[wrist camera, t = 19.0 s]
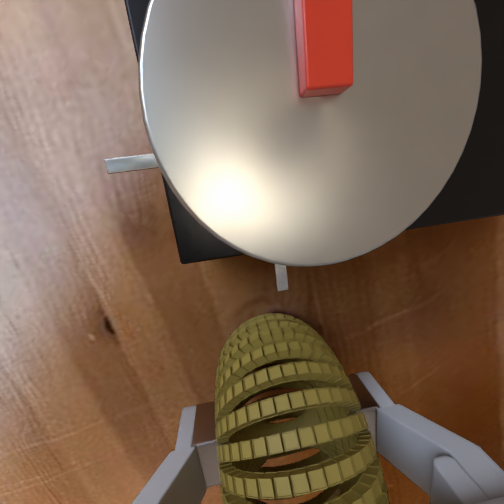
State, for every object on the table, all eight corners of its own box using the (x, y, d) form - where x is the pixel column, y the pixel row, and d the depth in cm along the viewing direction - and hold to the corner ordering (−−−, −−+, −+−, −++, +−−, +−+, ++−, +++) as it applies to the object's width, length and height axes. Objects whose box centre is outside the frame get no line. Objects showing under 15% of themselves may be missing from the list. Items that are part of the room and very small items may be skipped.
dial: (345, 215, 8) (485, 250, 4) (201, 235, 7) (174, 298, 3) (342, 47, 7) (542, -186, 2) (171, 62, 6) (68, -181, 2)
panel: (167, 277, 11) (145, 313, 8) (87, -66, 8) (-1, -227, 5) (457, 231, 12) (540, 247, 9) (486, -90, 9) (628, -237, 6)
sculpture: (209, 289, 11) (180, 522, 3) (298, 272, 11) (454, 454, 4) (240, 428, 13) (264, 762, 6) (314, 411, 14) (434, 709, 6)
